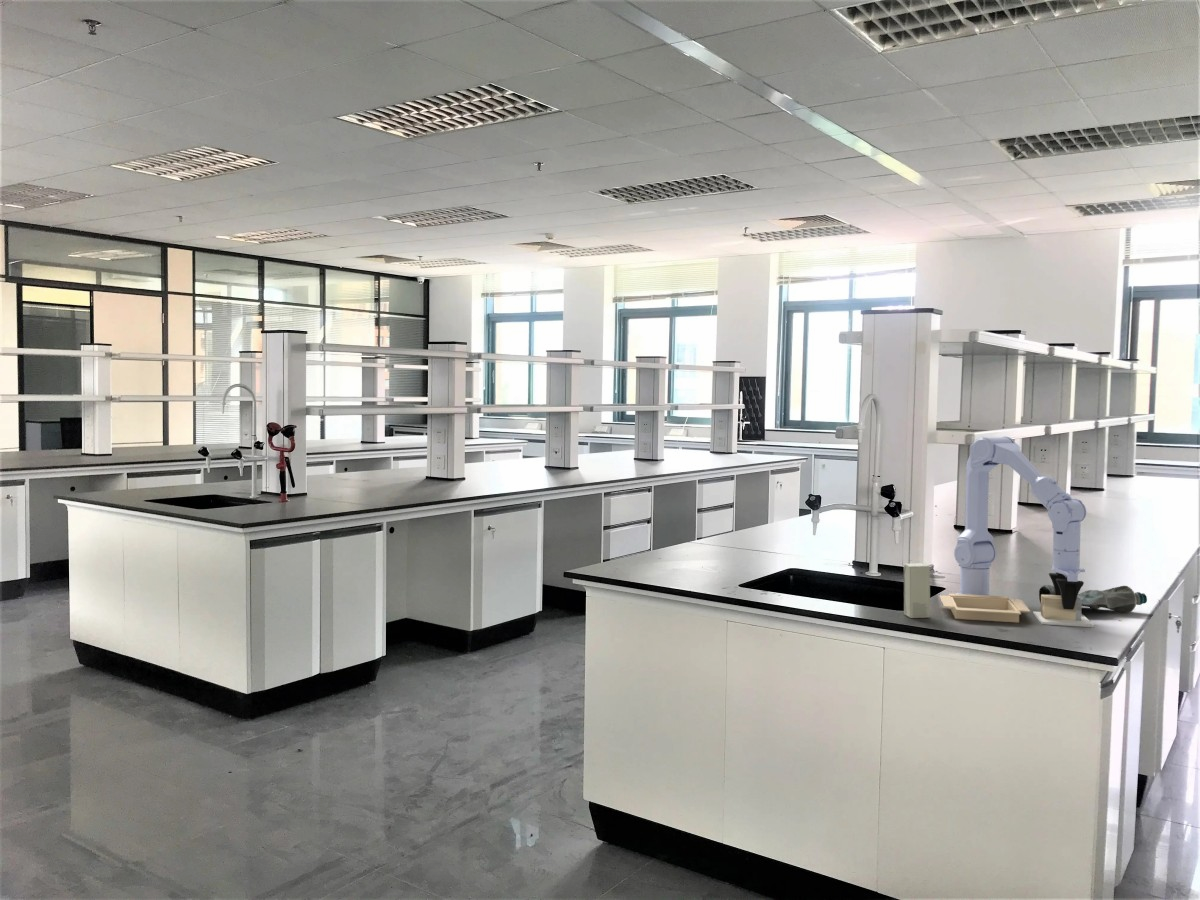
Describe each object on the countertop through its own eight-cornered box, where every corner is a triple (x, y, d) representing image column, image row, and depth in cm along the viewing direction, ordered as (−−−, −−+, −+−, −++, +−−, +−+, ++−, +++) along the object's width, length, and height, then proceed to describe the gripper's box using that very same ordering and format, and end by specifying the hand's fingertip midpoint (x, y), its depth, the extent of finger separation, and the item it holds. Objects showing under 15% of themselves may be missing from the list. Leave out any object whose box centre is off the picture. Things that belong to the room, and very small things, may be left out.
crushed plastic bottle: (1050, 616, 218) (1159, 617, 214) (1049, 587, 218) (1158, 587, 215) (1031, 609, 231) (1134, 609, 227) (1030, 581, 231) (1133, 581, 228)
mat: (1033, 613, 220) (1033, 611, 220) (1082, 616, 217) (1082, 614, 217) (1041, 624, 210) (1042, 621, 210) (1093, 627, 207) (1093, 624, 207)
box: (923, 614, 220) (924, 562, 220) (930, 618, 216) (931, 565, 216) (902, 614, 220) (903, 562, 220) (909, 618, 216) (909, 566, 215)
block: (1040, 614, 217) (1041, 594, 216) (1077, 616, 215) (1077, 596, 214) (1044, 618, 213) (1044, 597, 213) (1081, 620, 211) (1081, 599, 210)
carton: (938, 603, 232) (938, 592, 232) (1018, 607, 227) (1018, 597, 227) (945, 620, 214) (945, 608, 214) (1032, 625, 209) (1032, 613, 208)
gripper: (1092, 555, 205) (1091, 613, 205) (1077, 545, 219) (1076, 600, 219) (1058, 554, 207) (1057, 611, 207) (1046, 544, 220) (1045, 599, 221)
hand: (1065, 606), depth 213 cm, fingers open, 6 cm apart
